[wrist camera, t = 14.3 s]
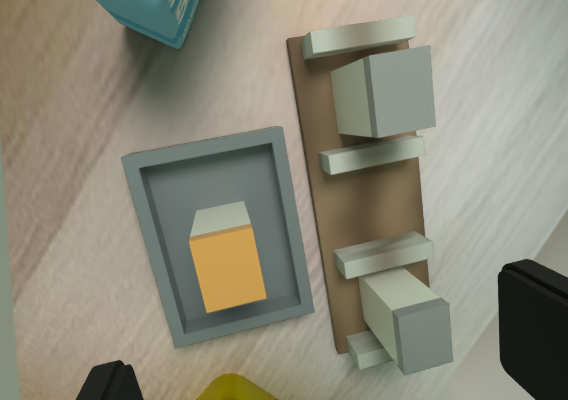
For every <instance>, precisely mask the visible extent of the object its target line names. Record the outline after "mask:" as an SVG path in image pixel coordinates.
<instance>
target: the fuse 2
mask: <svg viewBox="0 0 568 400" xmlns="http://www.w3.org/2000/svg"><path fill="white" fill-rule="evenodd" d="M358 279H359V286H360V294H361V301H362V308H363V315H364V320H365V322H366V323H367V324H368V326H369V327H370V329H371V330H372V331H373V333H374V334H375V335H376V337H377V338H378V340H379V341H380V342H381V344H382V345H383V346H384V348H385V349H386V351H387V352H388V353H389V355H390V356H391V357H392V359H393V360H394V362H395V363H396V364H397V366H398V367H399V368H400V370H401V371H402V372H403V374H404V375H408V374H412V373H415V372H418V371H422V370H425V369H429V368H432V367H436V366H439V365H443V364H446V363H449V362H453V355H452V341H451V328H450V314H449V304H448V303H447V302H446V301H445V300H443V299H442V298H441V297H440V296H438V295H437V294H436V293H435V292H433V291H432V290H431V289H430V288H428V287H427V286H426V285H425V284H423V283H422V282H421V281H420V280H418V279H417V278H416V277H415V276H413V275H412V274H411V273H410V272H408V271H407V270H406V269H405V268H403V267H402V266H397V267H393V268H389V269H385V270H381V271H377V272H373V273H369V274H365V275H361V276H358Z"/></svg>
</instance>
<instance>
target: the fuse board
mask: <svg viewBox="0 0 568 400" xmlns="http://www.w3.org/2000/svg"><path fill="white" fill-rule="evenodd" d="M414 37H416V30H415V17H414V15H411V16H405V17H398V18H392V19H385V20H379V21H372V22H366V23H359V24H353V25H346V26H340V27H333V28H327V29H320V30H314V31H310V32H309V33H308V34H307V35H306V36H301V37H294V38H288V39H287V40H286V42H287V48H288V54H289V60H290V66H291V73H292V79H293V85H294V91H295V97H296V104H297V110H298V116H299V122H300V128H301V134H302V141H303V147H304V153H305V159H306V165H307V172H308V178H309V184H310V190H311V196H312V203H313V209H314V215H315V221H316V227H317V234H318V240H319V246H320V252H321V258H322V264H323V271H324V277H325V283H326V289H327V295H328V302H329V308H330V314H331V320H332V326H333V333H334V339H335V345H336V350H337V352H338V354H343V353H346V352H350V354H351V356H352V357H353V359H354V361H355V363H356V364H357V366H358V368H359V370H361V369H364V368H368V367H371V366H375V365H378V364H382V363H386V362H389V361H393V359H392V357H391V356H390V355H389V353H388V352H387V351H386V349H385V348H384V346H383V345H382V344H381V342H380V341H379V340H378V338H377V337H376V335H375V334H374V333H373V331H372V330H371V329H370V327H369V326H368V324H367V323H366V322H365V320H364V315H363V308H362V301H361V294H360V286H359V279H358V276H361V275H365V274H369V273H373V272H377V271H381V270H385V269H389V268H393V267H397V266H402V267H403V268H405V269H406V270H407V271H408V272H410V273H411V274H412V275H413V276H415V277H416V278H417V279H418V280H420V281H421V282H422V283H423V284H425V285H426V286H427V287H428V288H429V276H428V264H427V259H430V258H434V252H433V241H431V240H429V239H428V238H426V237H425V230H424V218H423V206H422V195H421V183H420V171H419V160H418V157H419V156H424V155H426V153H425V141H424V137H423V136H416V131H411V132H406V133H401V134H396V135H391V136H386V137H381V138H374V137H365V136H357V135H348V134H339V133H338V126H337V118H336V111H335V104H334V97H333V89H332V82H331V75H330V72H331V71H334V70H336V69H338V68H341V67H343V66H346V65H348V64H350V63H353V62H355V61H357V60H360V59H362V58H364V57H367V56H369V55H375V54H381V53H387V52H393V51H399V50H405V49H409V44H408V40H409V39H411V38H414Z"/></svg>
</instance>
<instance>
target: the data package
mask: <svg viewBox="0 0 568 400" xmlns="http://www.w3.org/2000/svg"><path fill="white" fill-rule="evenodd" d="M96 1H98V2H99V3H100V4H101V5H102V6H103V7H104V8H105V9H106V10H107V11H108V12H109V13H110V14H111V15H112V16H113V17H114V18H115V19H116V20H117V21H118V22H119V23H120V24H122V25H125V26H127V27H129V28H131V29H133V30H136V31H138V32H140V33H142V34H144V35H147V36H149V37H151V38H153V39H155V40H158V41H160V42H162V43H164V44H167V45H169V46H171V47H173V48H175V49H179V48H181V47H182V45H183V43H184V42H185V39H186V37H187V34H188V32H189V29H190V26H191V23H192V21H193V18H194V15H195V12H196V9H197V6H198V4H199V1H200V0H96Z"/></svg>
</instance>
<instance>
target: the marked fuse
mask: <svg viewBox="0 0 568 400" xmlns="http://www.w3.org/2000/svg"><path fill="white" fill-rule="evenodd" d="M189 245H190V249H191V253H192V257H193V261H194V265H195V269H196V273H197V276H198V280H199V284H200V288H201V292H202V296H203V300H204V304H205V308H206V312H207V313H209V312H213V311H217V310H222V309H226V308H230V307H234V306H238V305H242V304H246V303H250V302H254V301H258V300H262V299H266V298H267V297H266V292H265V287H264V282H263V277H262V273H261V268H260V263H259V258H258V253H257V248H256V243H255V238H254V234H253V229H252V225H251V222H250V219H249V216H248V213H247V209H246V206H245V203H244V201H240V202H236V203H231V204H226V205H221V206H217V207H212V208H207V209H202V210H198V211H196V214H195V218H194V222H193V226H192V230H191V234H190V239H189Z"/></svg>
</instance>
